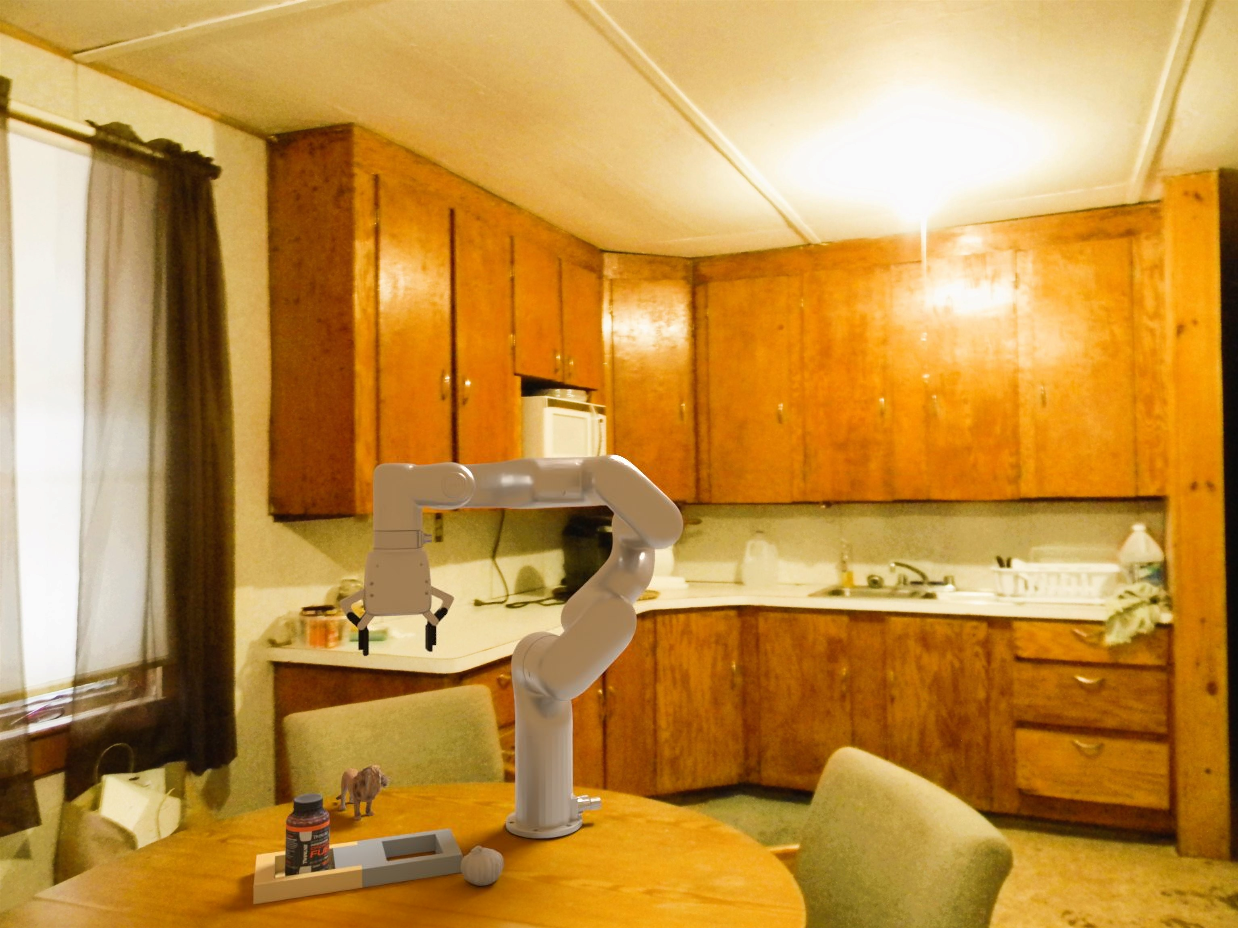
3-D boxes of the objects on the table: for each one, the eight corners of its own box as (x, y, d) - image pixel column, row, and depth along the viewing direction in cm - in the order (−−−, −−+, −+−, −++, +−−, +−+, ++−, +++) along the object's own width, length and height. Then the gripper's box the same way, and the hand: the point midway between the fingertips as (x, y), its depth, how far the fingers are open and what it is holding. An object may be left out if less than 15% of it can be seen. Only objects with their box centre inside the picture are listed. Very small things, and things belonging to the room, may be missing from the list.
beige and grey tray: (449, 844, 137) (449, 828, 138) (462, 872, 127) (462, 854, 127) (256, 872, 128) (256, 854, 128) (253, 904, 117) (253, 885, 117)
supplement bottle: (315, 889, 121) (315, 805, 122) (276, 885, 123) (276, 803, 123) (337, 871, 127) (337, 792, 128) (299, 868, 128) (300, 789, 129)
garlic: (463, 893, 120) (463, 855, 120) (458, 877, 125) (458, 840, 126) (506, 888, 122) (506, 849, 122) (500, 872, 127) (500, 835, 127)
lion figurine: (393, 817, 150) (393, 764, 150) (365, 826, 146) (365, 771, 146) (348, 798, 160) (349, 748, 160) (321, 806, 156) (322, 754, 156)
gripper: (449, 540, 144) (449, 645, 143) (338, 542, 138) (338, 652, 137) (457, 541, 137) (457, 652, 136) (341, 544, 131) (340, 660, 130)
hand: (397, 652), depth 136 cm, fingers open, 9 cm apart
